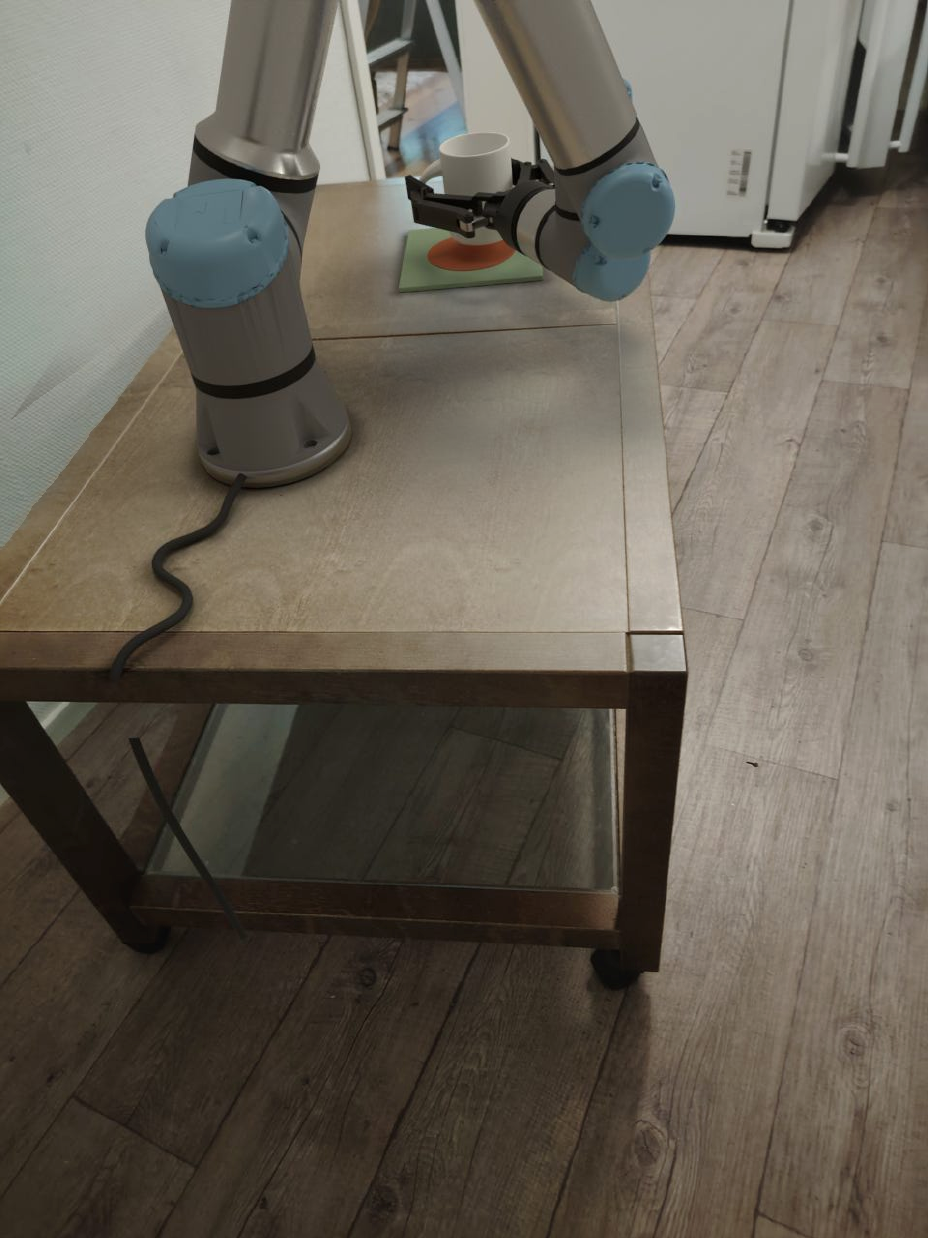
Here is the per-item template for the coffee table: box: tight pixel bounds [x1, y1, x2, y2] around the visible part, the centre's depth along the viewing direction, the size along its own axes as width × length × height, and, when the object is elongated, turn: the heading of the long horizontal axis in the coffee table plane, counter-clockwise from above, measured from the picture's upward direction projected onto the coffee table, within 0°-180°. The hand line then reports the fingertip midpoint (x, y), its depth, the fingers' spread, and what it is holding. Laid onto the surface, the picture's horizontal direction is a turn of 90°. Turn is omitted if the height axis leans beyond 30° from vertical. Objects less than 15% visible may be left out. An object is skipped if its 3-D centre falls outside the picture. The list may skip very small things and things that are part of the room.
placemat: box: [398, 227, 544, 293], centre depth 117 cm, size 18×18×1 cm
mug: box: [418, 131, 514, 245], centre depth 112 cm, size 9×12×11 cm
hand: (450, 173), depth 113 cm, fingers closed on mug, 11 cm apart
